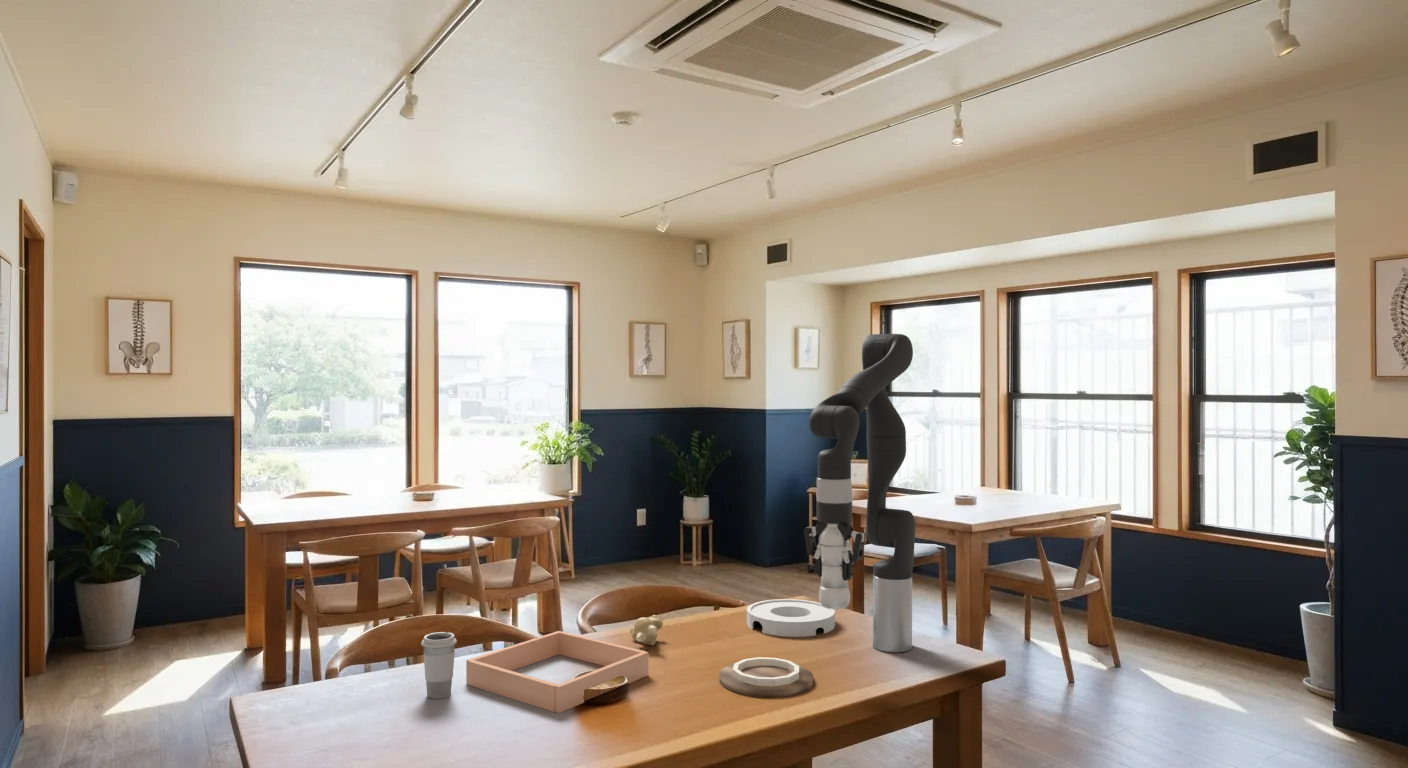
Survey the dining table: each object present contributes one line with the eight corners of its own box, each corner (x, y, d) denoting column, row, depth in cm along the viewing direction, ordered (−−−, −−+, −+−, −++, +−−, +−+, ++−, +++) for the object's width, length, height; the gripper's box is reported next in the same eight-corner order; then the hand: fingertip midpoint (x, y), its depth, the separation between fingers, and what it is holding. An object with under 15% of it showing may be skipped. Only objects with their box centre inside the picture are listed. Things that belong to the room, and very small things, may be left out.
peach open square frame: (559, 651, 210) (559, 630, 210) (648, 675, 194) (649, 652, 194) (465, 684, 188) (465, 660, 188) (558, 713, 172) (558, 687, 172)
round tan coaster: (752, 659, 205) (752, 654, 205) (829, 677, 193) (829, 671, 193) (700, 683, 189) (700, 678, 189) (782, 704, 177) (782, 698, 177)
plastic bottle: (850, 613, 187) (850, 518, 186) (817, 611, 188) (817, 517, 188) (851, 605, 193) (851, 513, 193) (819, 603, 194) (819, 512, 194)
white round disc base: (741, 635, 225) (741, 619, 225) (751, 611, 248) (751, 597, 248) (834, 640, 222) (834, 624, 222) (835, 615, 244) (835, 601, 244)
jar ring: (756, 660, 201) (756, 653, 201) (810, 672, 193) (810, 665, 193) (720, 677, 190) (720, 670, 190) (777, 690, 181) (777, 683, 181)
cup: (463, 691, 184) (463, 633, 184) (444, 702, 178) (444, 642, 177) (434, 687, 186) (434, 630, 186) (414, 698, 180) (414, 638, 180)
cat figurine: (660, 612, 223) (657, 611, 211) (668, 641, 221) (665, 641, 210) (628, 622, 222) (624, 621, 211) (636, 651, 220) (632, 651, 209)
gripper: (873, 499, 189) (873, 579, 189) (813, 494, 197) (813, 570, 198) (857, 504, 183) (857, 586, 183) (796, 498, 191) (796, 577, 192)
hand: (834, 577), depth 190 cm, fingers closed on plastic bottle, 5 cm apart
